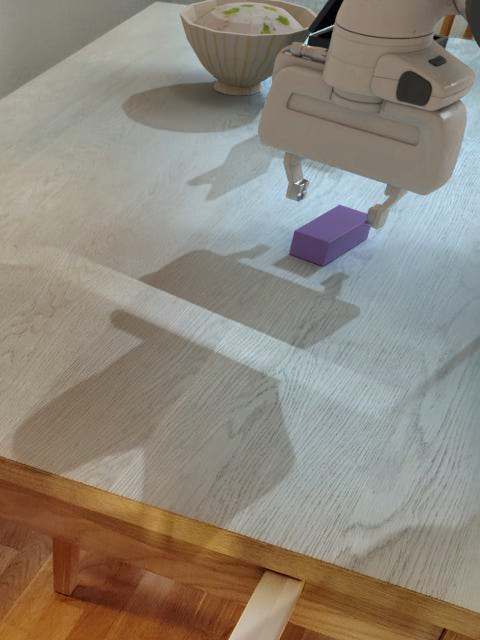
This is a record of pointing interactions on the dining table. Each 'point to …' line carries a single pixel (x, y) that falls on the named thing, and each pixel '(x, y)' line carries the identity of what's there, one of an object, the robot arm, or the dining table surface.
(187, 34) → the bowl
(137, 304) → the dining table surface
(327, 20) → the bin lid
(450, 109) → the robot arm
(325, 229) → the purple rectangular block
